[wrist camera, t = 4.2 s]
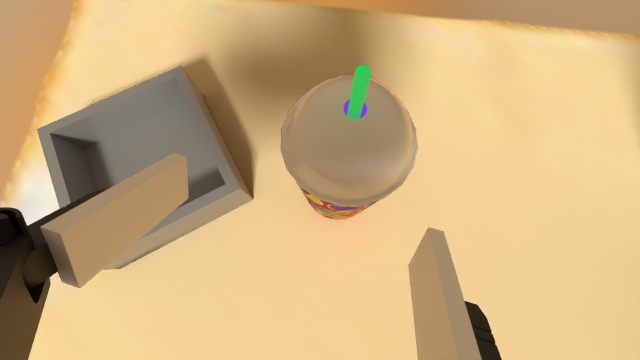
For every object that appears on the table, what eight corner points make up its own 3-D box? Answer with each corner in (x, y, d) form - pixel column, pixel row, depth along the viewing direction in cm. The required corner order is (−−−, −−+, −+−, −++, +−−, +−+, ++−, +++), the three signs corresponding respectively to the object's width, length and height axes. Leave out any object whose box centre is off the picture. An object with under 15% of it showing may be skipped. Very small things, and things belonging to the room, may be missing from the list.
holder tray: (253, 199, 30) (239, 188, 25) (120, 268, 28) (78, 271, 23) (201, 93, 33) (181, 65, 29) (80, 148, 32) (36, 129, 27)
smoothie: (313, 240, 29) (295, 206, 9) (289, 168, 31) (232, 20, 11) (387, 213, 29) (512, 130, 10) (358, 144, 31) (415, -32, 12)
